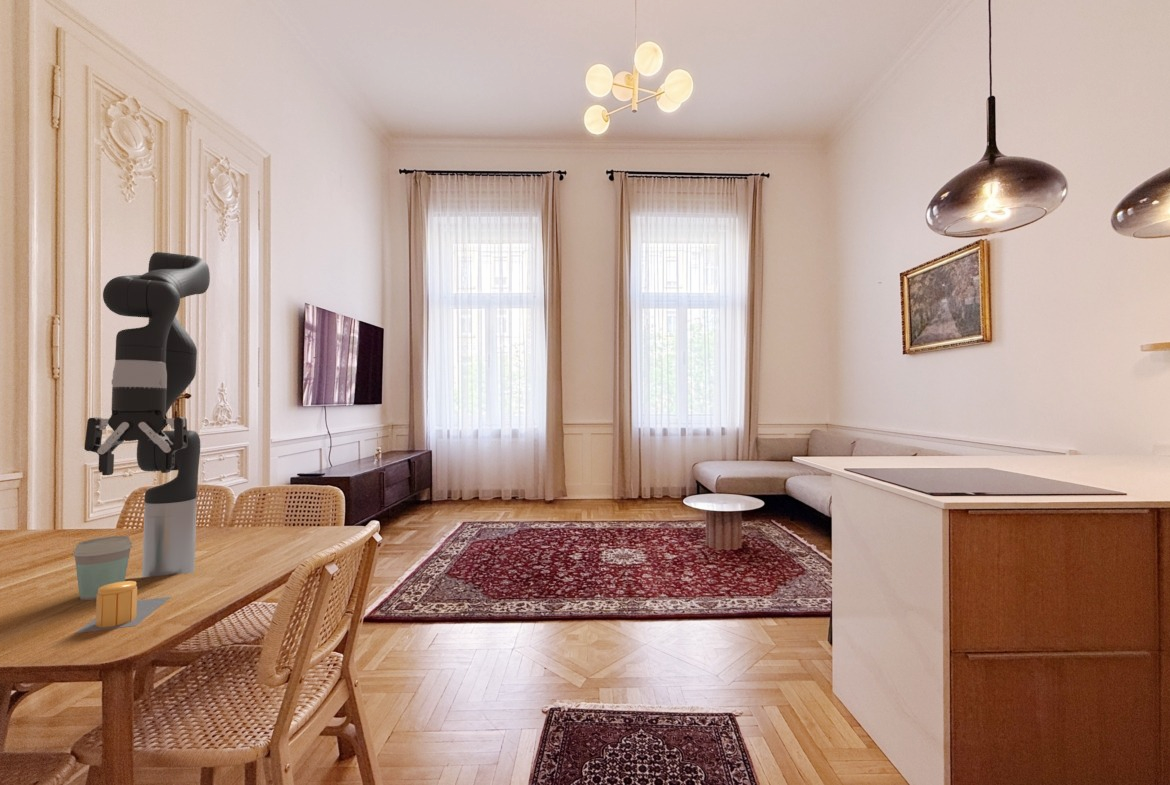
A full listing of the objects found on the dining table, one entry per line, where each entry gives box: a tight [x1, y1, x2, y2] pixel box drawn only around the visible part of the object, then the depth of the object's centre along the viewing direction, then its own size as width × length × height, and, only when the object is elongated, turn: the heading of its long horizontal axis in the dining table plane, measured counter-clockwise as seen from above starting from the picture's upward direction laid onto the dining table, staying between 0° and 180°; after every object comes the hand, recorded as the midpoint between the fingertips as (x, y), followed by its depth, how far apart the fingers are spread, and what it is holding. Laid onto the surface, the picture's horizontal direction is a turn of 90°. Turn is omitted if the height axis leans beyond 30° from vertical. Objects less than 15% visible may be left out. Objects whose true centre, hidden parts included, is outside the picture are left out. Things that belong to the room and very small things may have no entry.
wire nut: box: [95, 580, 138, 627], centre depth 85 cm, size 5×5×6 cm
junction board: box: [74, 596, 171, 634], centre depth 88 cm, size 14×8×5 cm, turn 21°
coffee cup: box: [72, 535, 133, 601], centre depth 98 cm, size 9×8×12 cm
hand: (137, 473), depth 91 cm, fingers open, 8 cm apart
